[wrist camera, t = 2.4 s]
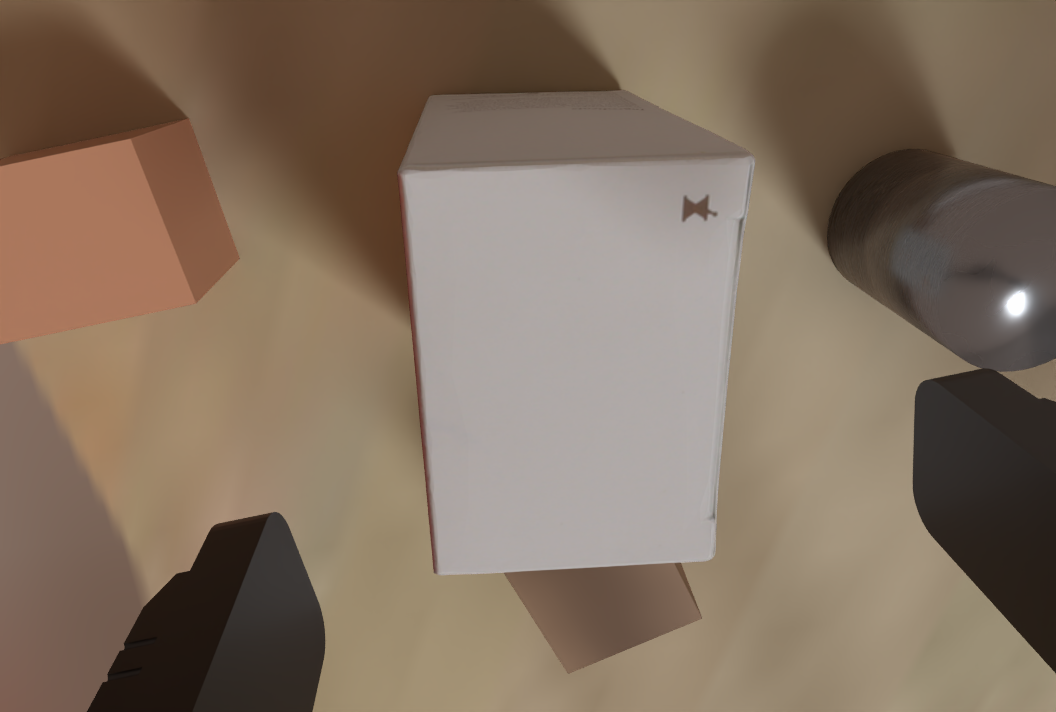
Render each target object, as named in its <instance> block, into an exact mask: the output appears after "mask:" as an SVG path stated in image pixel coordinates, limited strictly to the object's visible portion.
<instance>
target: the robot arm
mask: <svg viewBox="0 0 1056 712" xmlns="http://www.w3.org/2000/svg"><path fill="white" fill-rule="evenodd" d="M913 493H914V499H915V503H916V506H917V510H918V512H919V515H920V517H921V519H922V522H923V523H924V525H925V527H926V529H927V530H928V532H929V533H930V534H931V536H932V537H933V538H934V539H935V540H936V541H937V542H938V544H939V545H940V546H941V547H942V548H943V549H944V550H945V551H946V552H947V553H948V555H949V556H950V557H951V558H952V559H953V560H954V561H955V562H956V563H957V565H958V566H959V567H960V568H961V569H962V570H963V571H964V572H965V573H966V575H967V576H968V577H969V578H970V579H971V580H972V581H973V582H974V583H975V584H976V586H977V587H978V588H979V589H980V590H981V591H982V592H983V593H984V594H985V596H986V597H987V598H988V599H989V600H990V601H991V602H992V603H993V604H994V605H995V607H996V608H997V609H998V610H999V611H1000V612H1001V613H1002V614H1003V615H1004V617H1005V618H1006V619H1007V620H1008V621H1009V622H1010V623H1011V624H1012V625H1013V626H1014V628H1015V629H1016V630H1017V631H1018V632H1019V633H1020V634H1021V635H1022V636H1023V638H1024V639H1025V640H1026V641H1027V642H1028V643H1029V644H1030V645H1031V646H1032V647H1033V649H1034V650H1035V651H1036V652H1037V653H1038V654H1039V655H1040V656H1041V657H1042V659H1043V660H1044V661H1045V662H1046V663H1047V664H1048V665H1049V666H1050V667H1051V668H1052V670H1053V671H1054V672H1055V673H1056V402H1054V401H1051V400H1048V399H1046V398H1042V399H1038V398H1036V397H1035V396H1033V395H1032V394H1030V393H1029V392H1027V391H1026V390H1024V389H1023V388H1021V387H1020V386H1018V385H1017V384H1015V383H1014V382H1012V381H1011V380H1009V379H1007V378H1006V377H1004V376H1003V375H1001V374H1000V373H998V372H997V371H995V370H993V369H989V368H983V369H979V370H974V371H969V372H964V373H959V374H954V375H949V376H944V377H940V378H935V379H930V380H926V381H923V382H922V383H921V384H920V385H919V387H918V389H917V391H916V396H915V416H914V454H913ZM124 646H125V649H124V650H122V651H120V652H119V654H118V655H117V657H116V659H115V661H114V663H113V665H112V666H111V668H110V670H109V672H108V681H107V682H103V683H102V685H101V687H100V689H99V690H98V692H97V694H96V696H95V698H94V700H93V701H92V703H91V705H90V707H89V709H88V711H87V712H312V711H313V706H314V702H315V697H316V692H317V688H318V683H319V678H320V674H321V669H322V665H323V660H324V654H325V629H324V621H323V616H322V612H321V608H320V605H319V602H318V600H317V597H316V595H315V592H314V590H313V587H312V584H311V582H310V579H309V577H308V574H307V572H306V569H305V567H304V564H303V562H302V559H301V557H300V554H299V551H298V549H297V546H296V544H295V541H294V539H293V536H292V534H291V531H290V529H289V526H288V524H287V522H286V520H285V519H284V518H283V516H282V515H281V514H279V513H277V512H273V513H268V514H263V515H258V516H253V517H248V518H243V519H238V520H234V521H229V522H224V523H219V524H216V525H214V526H213V527H212V528H211V530H210V532H209V533H208V535H207V537H206V539H205V541H204V544H203V546H202V548H201V550H200V552H199V554H198V556H197V558H196V560H195V562H194V564H193V566H192V568H191V570H190V571H187V572H182V573H178V574H176V575H175V576H174V577H173V578H172V579H171V580H170V581H169V582H168V583H167V584H166V585H165V586H164V587H163V588H162V589H161V590H160V591H159V592H158V593H157V594H156V595H155V596H154V597H153V598H152V599H151V600H150V601H149V602H148V603H147V604H146V605H145V606H144V607H143V609H142V611H141V613H140V615H139V617H138V618H137V620H136V622H135V624H134V626H133V628H132V629H131V631H130V633H129V635H128V637H127V639H126V641H125V643H124Z"/></svg>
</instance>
